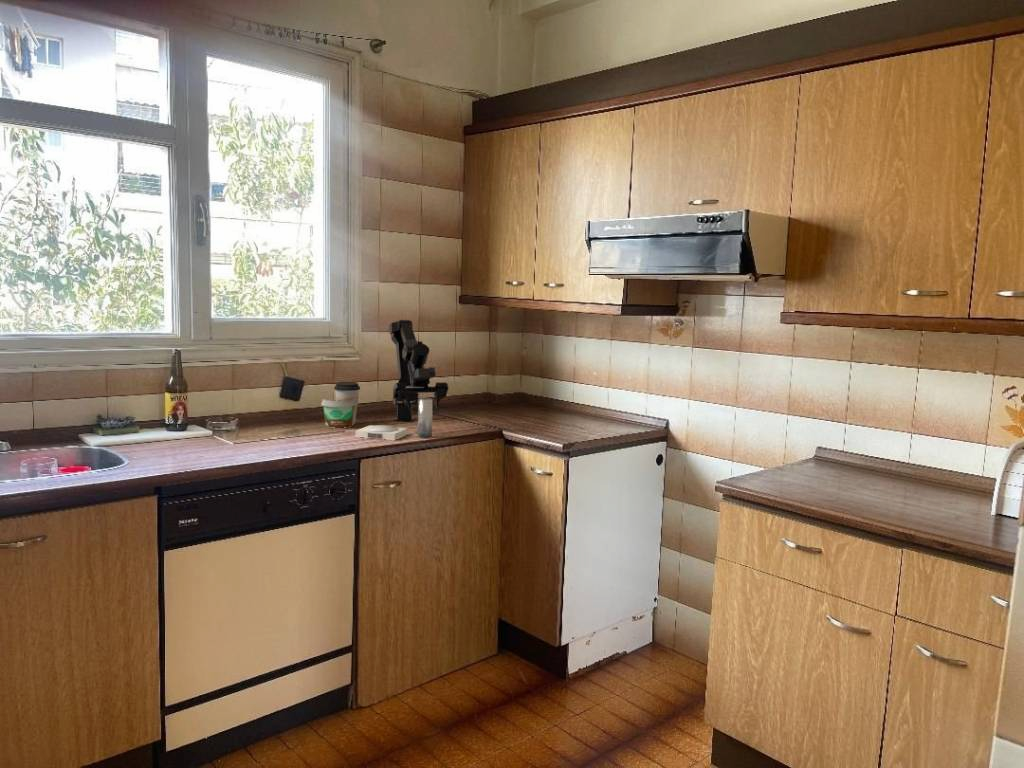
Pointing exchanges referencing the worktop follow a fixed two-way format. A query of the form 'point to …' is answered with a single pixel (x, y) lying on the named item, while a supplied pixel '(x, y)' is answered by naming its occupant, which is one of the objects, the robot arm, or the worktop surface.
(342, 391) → the coffee cup
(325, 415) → the food container
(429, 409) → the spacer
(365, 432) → the scale
